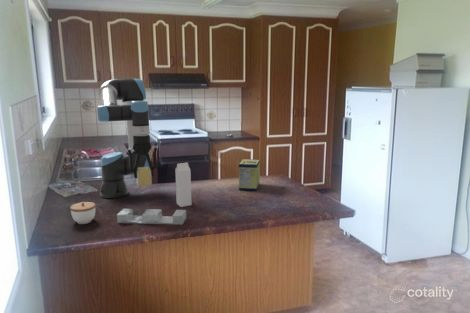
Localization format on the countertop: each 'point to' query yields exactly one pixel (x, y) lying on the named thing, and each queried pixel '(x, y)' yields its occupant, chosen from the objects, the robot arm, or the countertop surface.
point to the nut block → (144, 176)
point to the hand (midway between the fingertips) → (144, 183)
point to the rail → (151, 217)
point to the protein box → (249, 174)
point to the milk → (183, 184)
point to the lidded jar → (83, 212)
